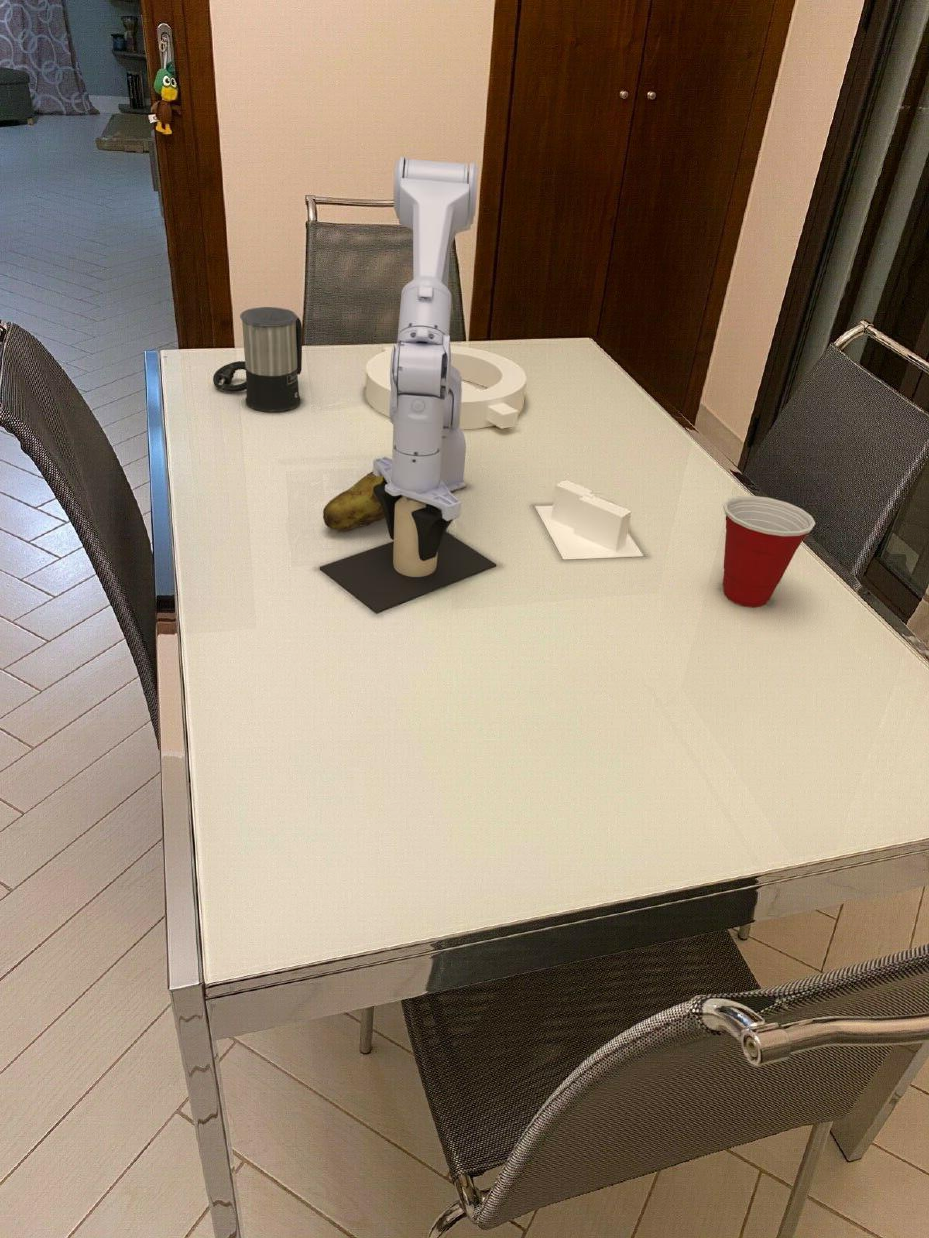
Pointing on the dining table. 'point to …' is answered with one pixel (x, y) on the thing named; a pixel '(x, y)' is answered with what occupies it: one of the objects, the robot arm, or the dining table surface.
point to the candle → (409, 541)
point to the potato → (354, 506)
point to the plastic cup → (760, 546)
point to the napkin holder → (587, 524)
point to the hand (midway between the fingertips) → (412, 547)
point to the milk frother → (267, 360)
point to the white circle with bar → (463, 386)
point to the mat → (387, 588)
